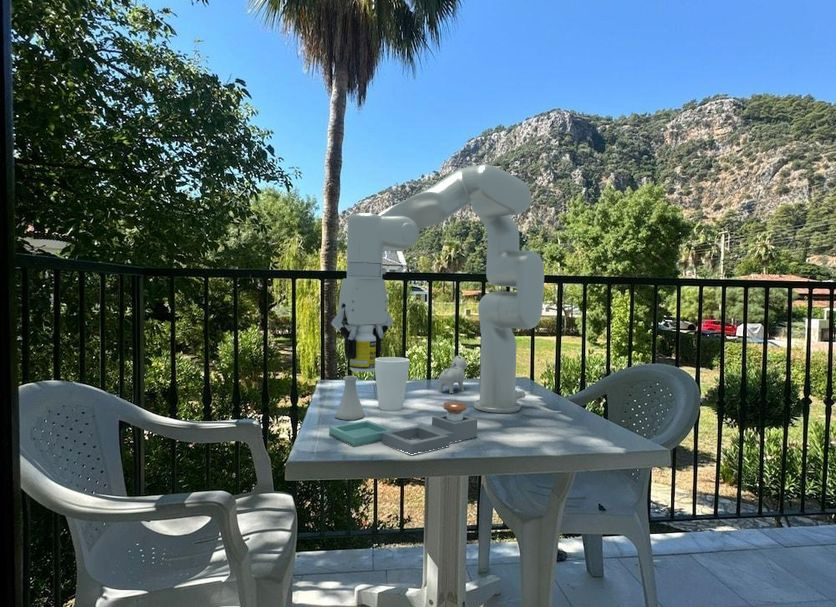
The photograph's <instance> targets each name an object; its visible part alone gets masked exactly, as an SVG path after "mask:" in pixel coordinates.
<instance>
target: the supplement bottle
mask: <svg viewBox="0 0 836 607" xmlns="http://www.w3.org/2000/svg"><path fill="white" fill-rule="evenodd" d="M372 332H373V325H364V326H357V329H356V333H355V336H354V340H356V358H355V359H350V358H349V370H351V371H352V372H357V373H369V372H370V373H371V372H375V358H377V357H376V337H375V336H374V335H372Z"/></svg>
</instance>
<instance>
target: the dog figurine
mask: <svg viewBox="0 0 836 607" xmlns="http://www.w3.org/2000/svg"><path fill="white" fill-rule="evenodd" d="M466 360H467V359H466V357H465V356H464V357H460V356H459V355H456V356H454V359H453V360H452V362H451V366H449V368H445V370H443V371H441V372H440V374H439V377H438V380H439V381H438V382H439V383H438V385H439V388H438V389H439V390H438V392H439V393H440V392H442V393H443V387H444V386H446V387H447V388H448V389H449V393H454V389H453V388H454V386H455V385H454V384H455V383H457V384H458V388H459V391H460V390H462V391H461V392H464V391H465V389H464V379H465V378H466V375H465V374H466V373H465V370H466V369H467V367H468V363H467V361H466Z"/></svg>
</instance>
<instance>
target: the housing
mask: <svg viewBox="0 0 836 607" xmlns="http://www.w3.org/2000/svg"><path fill="white" fill-rule="evenodd" d="M446 418H447V413H446V414H441V415H436V416H435V415H434V416H432V417H431V425H426V426H421V425H413V426H408V427H403V428H399V429H392V430H393V431H388V432H383V433H382V441H381V444H383V443H384V444H383V445H385V444H386V445H385V446H387V445H389V446H388V447H390V446H391V447H390V448H392V447H394V448H396V449H395V450H397V449H399V450H402V451H404V452H408V453H410V454H414V453H418V452H425V451H429V450H433V449H438V448H442V447H446V446H449V447H450V444H449V443H450V442H455V441H459V440H464V441H466V440H465V439H468V440H471V439H470V438H472V439H475V438H474V437H477V438H478V419H477V418H475V417H470V416H467V415H465V414H463V420H461V421H456V422H453V421H450V420H447V419H446ZM416 437H418V438H416ZM411 438H414V439H418V440H415V441H411V440H412V439H411ZM420 438H421V439H420ZM407 439H409V440H407ZM419 439H420V440H419ZM455 443H456V442H455ZM394 448H393V449H394ZM446 448H447V447H446ZM442 449H443V448H442ZM399 450H398V451H399ZM438 450H439V449H438ZM433 451H434V450H433ZM404 452H403V453H404ZM429 452H430V451H429ZM425 453H426V452H425Z"/></svg>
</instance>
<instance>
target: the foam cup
mask: <svg viewBox="0 0 836 607" xmlns="http://www.w3.org/2000/svg"><path fill="white" fill-rule="evenodd" d="M409 370H410V359H409V358H408V357H407V358H405V357H397V356H395V357H394V356H385V357H381V356H380V357H375V370H374V375H375V385H376V394H377V401H378V409H380V410H381V409H382V411H388V412H392V411H393V412H394V411H395V412H396V411H400V409H401V410H403V408H404V403H405V395H406V388H407V382H408V375H409Z"/></svg>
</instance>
